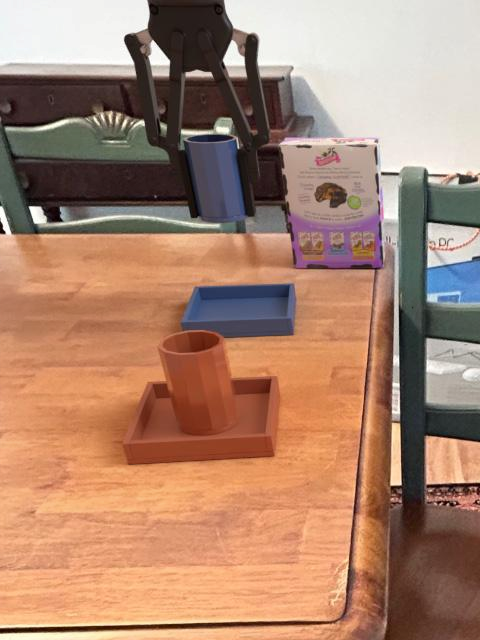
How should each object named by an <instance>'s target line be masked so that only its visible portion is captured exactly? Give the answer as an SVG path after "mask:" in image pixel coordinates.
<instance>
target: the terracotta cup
mask: <svg viewBox="0 0 480 640" xmlns="http://www.w3.org/2000/svg"><path fill="white" fill-rule="evenodd" d="M157 350H158V354H159V359H160V362H161V367H162V370H163V373H164V377H165V381H166V382H167V386H168V390H169V394H170V398H171V402H172V406H173V410H174V413H175V417H176V421H177V422H178V425H179V428H180V429H181V430H182V431H184V432H186V433H188V434H192V435H213V434H218V433H222V432H224V431H227V430H229V429H231V428H232V427H234V426H235V425H236V424H237V423H238V421H239V416H238V406H237V401H236V396H235V390H234V385H233V380H232V378H233V376H232V370H231V366H230V365H231V364H230V359H229V354H228V349H227V344H226V337H225V338H224V337H223V336H221V335H220V334H219V333H217V332H212V331H206V330H191V331H183V330H182V331H180V332H179V331H178V332H175V333H172V334H169V335H166V336H165V337H164V338H161V339H160V340H159V341H158V345H157Z"/></svg>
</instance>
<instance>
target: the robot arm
mask: <svg viewBox="0 0 480 640" xmlns="http://www.w3.org/2000/svg"><path fill="white" fill-rule="evenodd" d="M146 1H147V6H148V7H147V8H148V11H149V12H148V13H149V14H148V15H149V16H148V21H147V28H145V29H141V30H140V31H137V32H130V33H127V34H125V35H124V37H123V42H124V45H125V47H126V49H127V52H128V54H129V55H130V58H131V60H132V61H133V66H134V71H135V76H136V81H137V88H138V95H139V99H140V105H141V111H142V117H143V122H144V128H145V129H144V130H145V135H146V140H147V144H149V146H151V147H155V148H159V149H161V150H164V151H165V152H166V153H167V155H168V160H169V166H170V170H171V174H172V179H173V181H174V183H175V185H176V186H178V185H179V186H184V191H185V196H186V197H185V198H186V201H187V207H188V211H189V216H190V219H199V215H198V213H197V208H196V203H195V198H194V193H193V188H192V183H191V178H190V173H189V168H188V163H187V158H186V153H185V149H181V146H182V143H181V142H182V141H181V140H182V138H181V137H182V127H183V112H184V111H183V110H184V98H185V97H184V96H185V95H184V94H185V83H186V78H187V77H186V76H187V73H191V72H194V71H199V72H204V73H211V75H212V78H213V80H214V82H215V83H216V85H217V88H218V91H219V92H220V95H221V98H222V99H223V103H224V104H225V106H226V109H227V111H228V114H229V117H230V118H231V121H232V123H233V126H234V128H235V131H236V134H237V135H238V139H239V140H240V142H241V145H242V147H243V148H239V152H238V157H239V164H240V170H241V176H242V183H243V189H244V195H245V202H246V208H247V214H248V218H255V216H256V212H257V209H256V208H257V207H256V203H255V195H254V188H253V184H259V182H260V177H261V172H260V165H259V158H258V150H259V148H261V147H263V146H266V145H268V144H270V141H271V138H272V133H271V128H270V124H269V123H270V122H269V117H268V112H267V106H266V101H265V95H264V89H263V83H262V78H261V74H260V73H261V72H260V68H259V67H260V66H259V61H258V60H259V59H258V58H259V49H260V37H259V35H258V34H257V33H256V32H246V31H244V30H241V29H238V28H235V27H234V26H233V23H232V21H231V20H230V18H229V15H228V13H227V10H226V4H225V0H146ZM232 41H233V42H234V43H235V44H236V47H237V53H238V54H239V55H240V56H241V57H243V59H244V68H245V69H244V70H245V73H246V78H247V84H248V90H249V95H250V102H251V105H252V112H253V115H254V116H253V117H254V121H255V127H256V132H255V133H253V131H252V129H251V127H250V124H249V122H248V119H247V117H246V114H245V111H244V109H243V107H242V104H241V102H240V100H239V98H238V95H237V92H236V90H235V87H234V85H233V83H232V80H231V78H230V75H229V72H228V69H227V66H226V64H225V61H224V58H225V56H226V54H227V51H228V50H229V47H230V45H231V43H232ZM152 42H154V43H155V45H156V46H157V47H158V48H159V50H160V51H161V52H162V53H163V55H165V57H166V58H167V59H168V60H169V69H168V71H169V72H168V80H169V82H168V84H169V85H168V98H167V99H168V100H167V113H166V114H167V115H166V116H167V118H166V131H165V133H166V134H165V133H163V131H162V126H161V120H160V115H159V114H160V112H159V107H158V101H157V95H156V89H155V84H154V83H155V82H154V76H153V70H152V64H151V61H150V56H151V54H152V52H153V50H152Z"/></svg>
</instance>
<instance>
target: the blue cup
mask: <svg viewBox="0 0 480 640" xmlns="http://www.w3.org/2000/svg"><path fill="white" fill-rule="evenodd" d="M182 143H183V149H184V150H185V153H186V158H187V163H188V168H189V173H190V178H191V183H192V188H193V193H194V198H195V203H196V208H197V213H198V215H199V216H198V219H199V220H200V221H202V222H205V223H210V224H229V223H236V222H237V223H238V222H241V221H244V220H246V219H248V218H249V217H248V214H247V208H246V202H245V195H244V189H243V183H242V176H241V170H240V164H239V157H238V152H239V150H240V144H239V136H236V135H233V134H228V133H227V134H226V133H204V134H195V135H194V134H193V135H189V136H185V137H184V138H183V139H182Z"/></svg>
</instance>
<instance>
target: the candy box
mask: <svg viewBox="0 0 480 640" xmlns="http://www.w3.org/2000/svg"><path fill="white" fill-rule="evenodd" d="M380 146H381V145H380V138H379V137H284V139H282V140H281V142H280V143H279V144H278V155H279V161H280V167H281V175H282V184H283V191H284V199H285V206H286V213H287V214H286V215H287V222H288V228H289V237H290V244H291V253H292V262H293V264H292V265H293V268H294V269H379V268H380V269H382V268H383V269H384V266H385V262H386V242H385V212H384V195H383V184H382V183H383V181H382V165H381V149H380V148H381V147H380Z"/></svg>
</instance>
